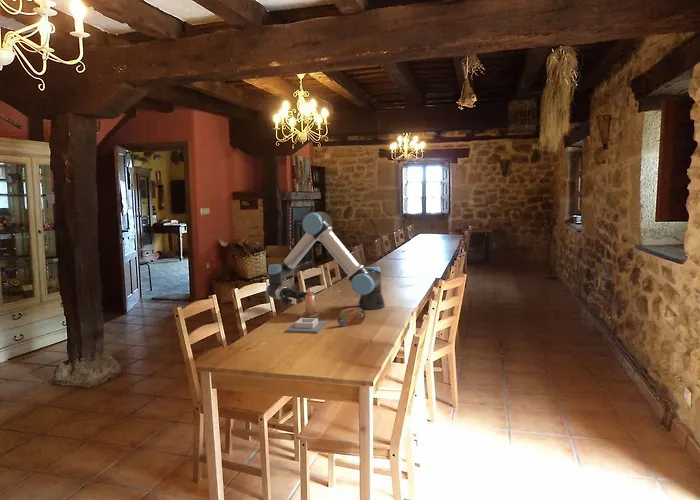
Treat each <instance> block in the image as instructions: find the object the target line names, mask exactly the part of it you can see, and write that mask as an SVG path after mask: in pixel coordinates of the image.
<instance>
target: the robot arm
mask: <svg viewBox="0 0 700 500" xmlns="http://www.w3.org/2000/svg"><path fill="white" fill-rule="evenodd" d="M331 220H332V219H331V217H330V215H329V214H328V213H326V212H325V211H316V212H314V211H313V212H310V213H308V214H306V215H305V216H304V217H303V220H302V228H303V230H304V232H305V233H304V235H303V236H302V237H301V238H300V240H298V242H297V244H296V245H294V247H293V249H292V250H291V251H290V253H289V254H288V255H287V257H286V258H285V259H284V260H283V262H282V263H281V264H279V263H275V264H269V265H268V267H267V270H268V271H267V273H268V285H267V287H266V288H265V294H266V295H267V296H268V297H270V298H272V299H276V300H279V301H281V303H282V304H284V303H285V304H286V305H287V304H292V305H297V300H298V299H301V298H302V299H305V295H307V291H300V290H299V291H294V290H293V289H292V288H290V287H286V286H283V279H284V278H287V277H290V276H291V275H292V274H293V271H294V269H295V268H296V267H297V265H299V263H300V262H301V261H302V259H303V258H304V257H305V255H306V254H307V253H308V252H309V251H310V249H311V248H312V247H313V245H314V244H315V243H316V242H317V241H318V242H320V243H321V245H323V246H324V248H325V249H326V250H327V251H328V253H329V254H330V255H331V257H332V258H334V260H335V261H336V262H337V263H338V265H339V266H340V267H341V269H343V271H344V272H345V273H346V275H347V278H346V279H347V280H348V281H349V283H350V286H351V289H352V290H353V292H355V293H356V294H357V295H360V297H359V300H358V303H357V304H358V305H357V306H358V308H361V309H363V310H379V309H383V308H385V307H386V306H385V305H386V304H385V300H384V299H385V298H384V297H383V295H382V269H381V267H379V266H365V265H364V264H363V265H362V264H360V263H359V262H358V260H357V259H356V258H355V256H353V255H352V253H351V252H350V251H349V249H347V248H346V246H345V245H344V244H343V242H342V241H341V240H340V238H338V236H337V235H336V234H335V233H334V231H333V226H332V221H331ZM269 284H270V285H269ZM312 294H313V295H314V297H315V301H318V299H319V297H318V294H315V293H314V292H313V291H312Z"/></svg>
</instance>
